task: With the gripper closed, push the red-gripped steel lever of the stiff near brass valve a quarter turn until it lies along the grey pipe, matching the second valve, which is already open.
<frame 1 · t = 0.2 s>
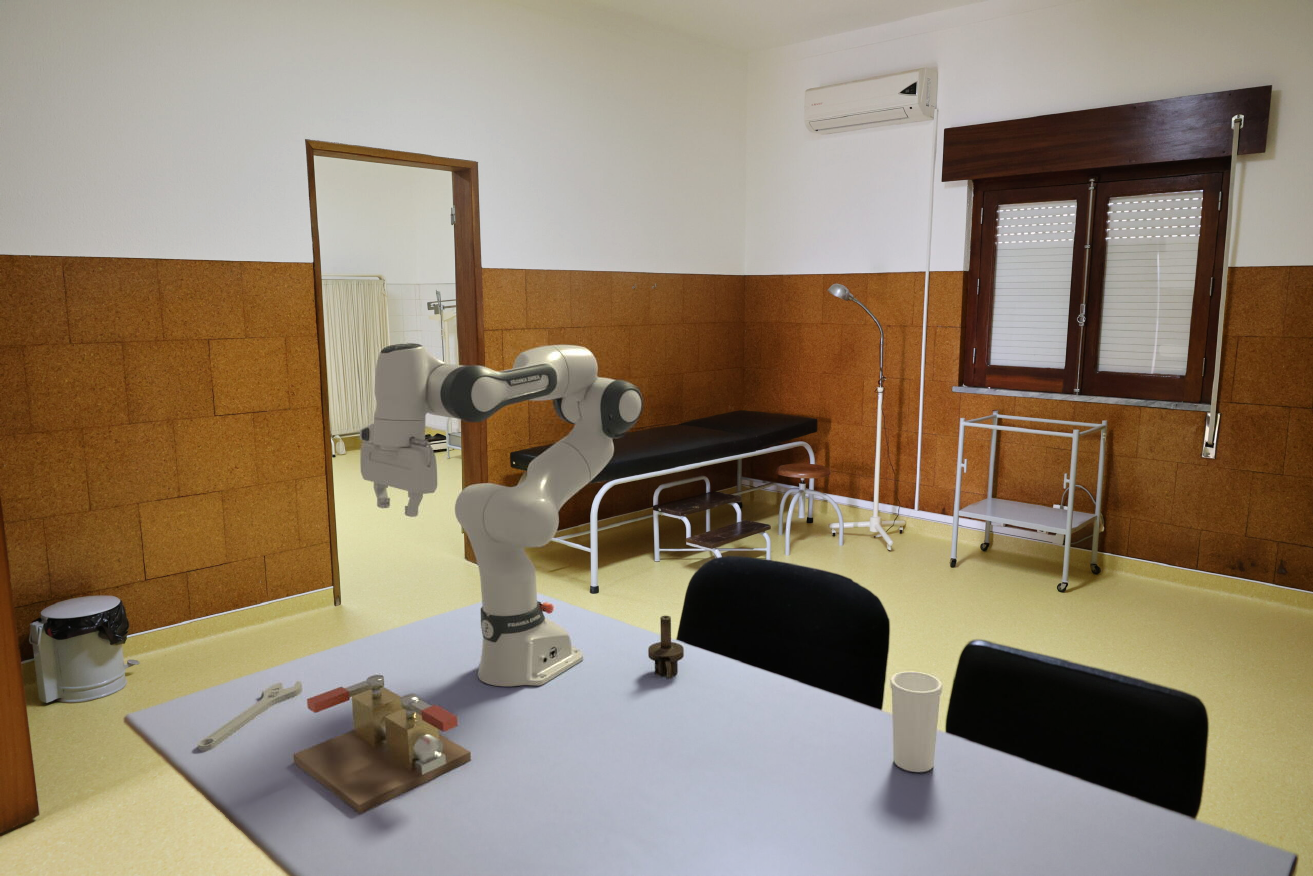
hand: (397, 511, 153), 39 cm above the table, tool pointing down, fingers open, 8 cm apart
base board: (382, 761, 143), on the table
valve lever: (348, 692, 144), point 11 cm above the table, hinge at 0.0°
pipe manifold: (398, 754, 145), resting on base board
adjustable wrench: (249, 718, 160), on the table
cup: (913, 765, 140), on the table
industrial component: (667, 672, 176), on the table
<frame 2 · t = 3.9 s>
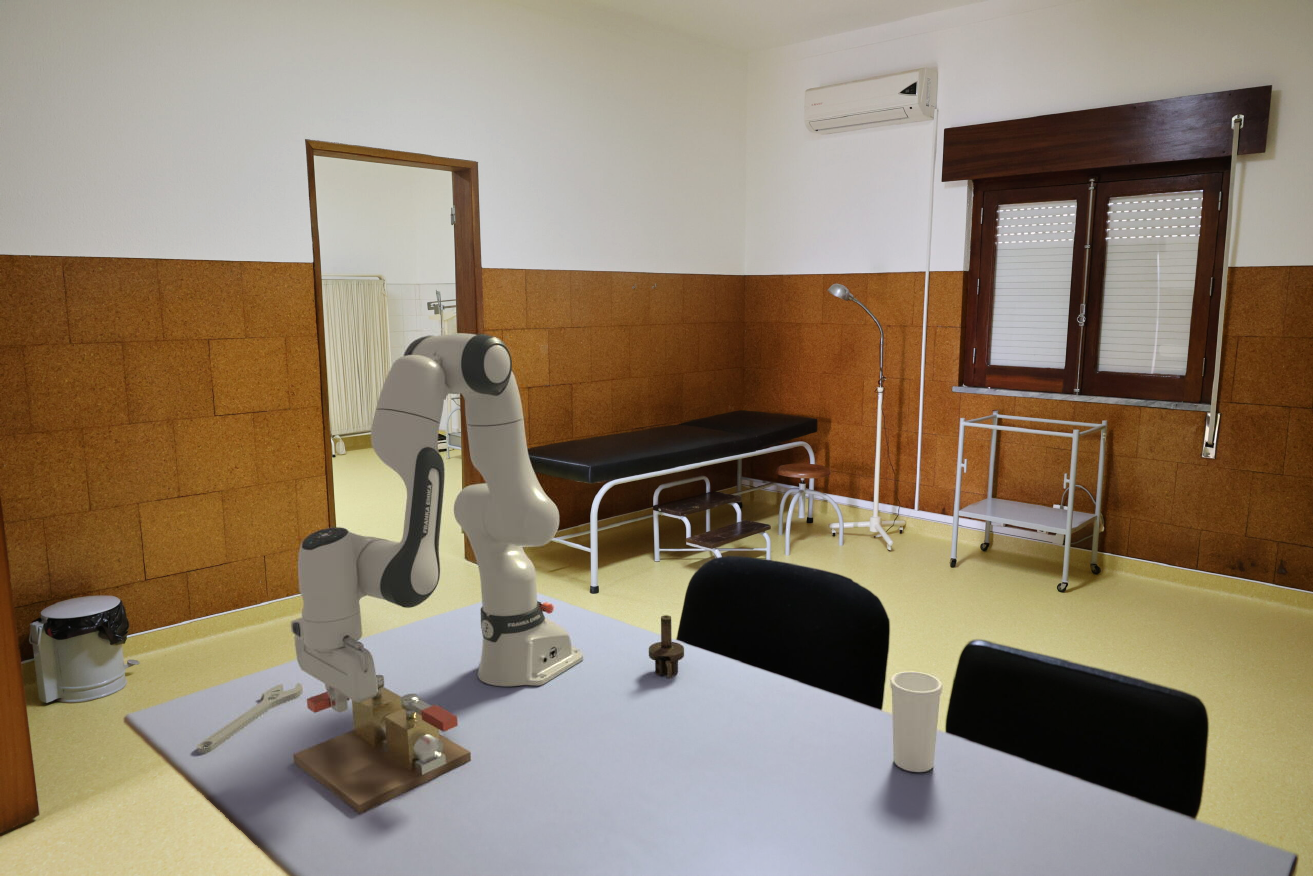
hand: (339, 709, 140), 10 cm above the table, tool pointing down, fingers closed
valve lever: (348, 692, 144), point 11 cm above the table, hinge at -0.5°, touching gripper
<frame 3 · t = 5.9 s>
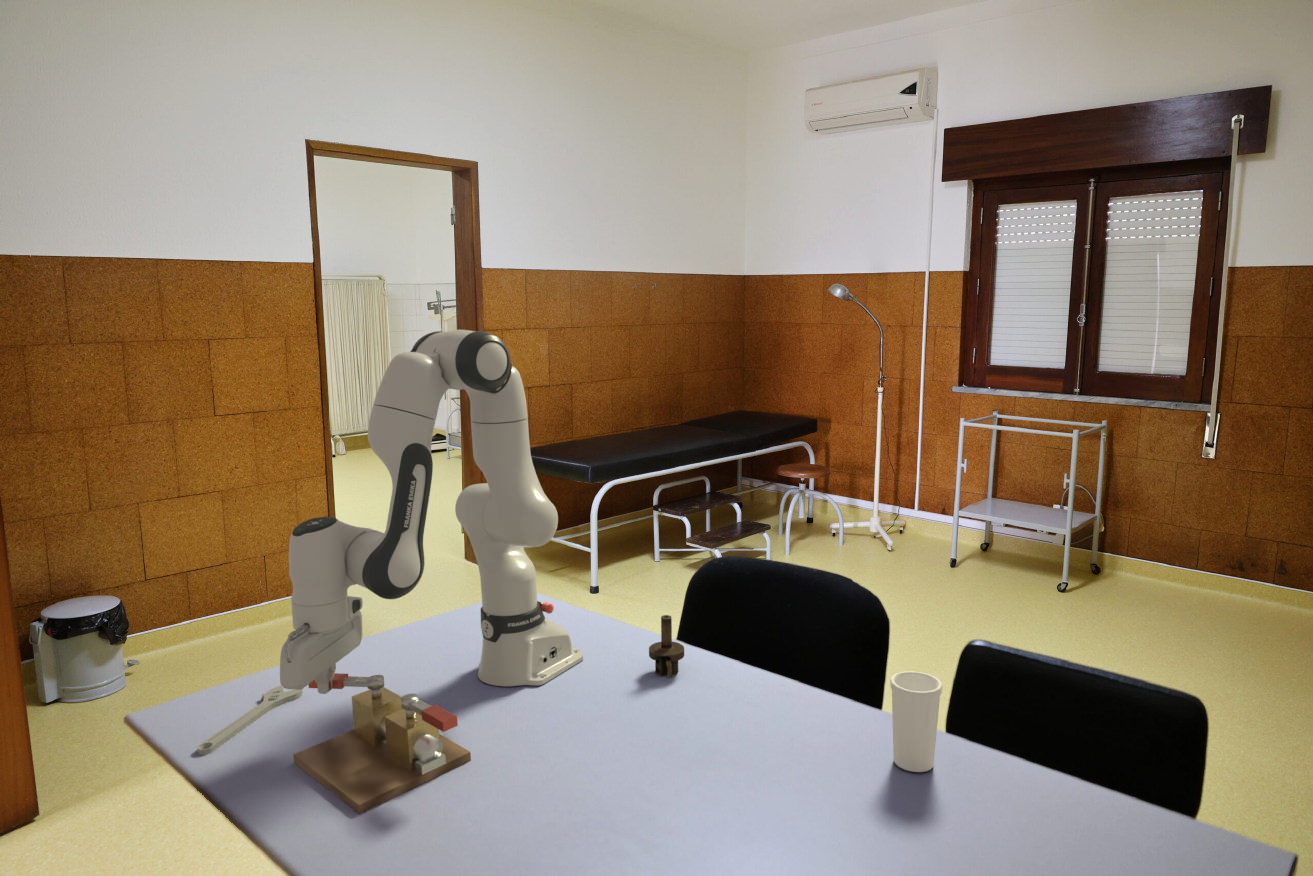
hand: (325, 691, 146), 10 cm above the table, tool pointing down, fingers closed
valve lever: (347, 681, 148), point 11 cm above the table, hinge at -53.1°, touching gripper
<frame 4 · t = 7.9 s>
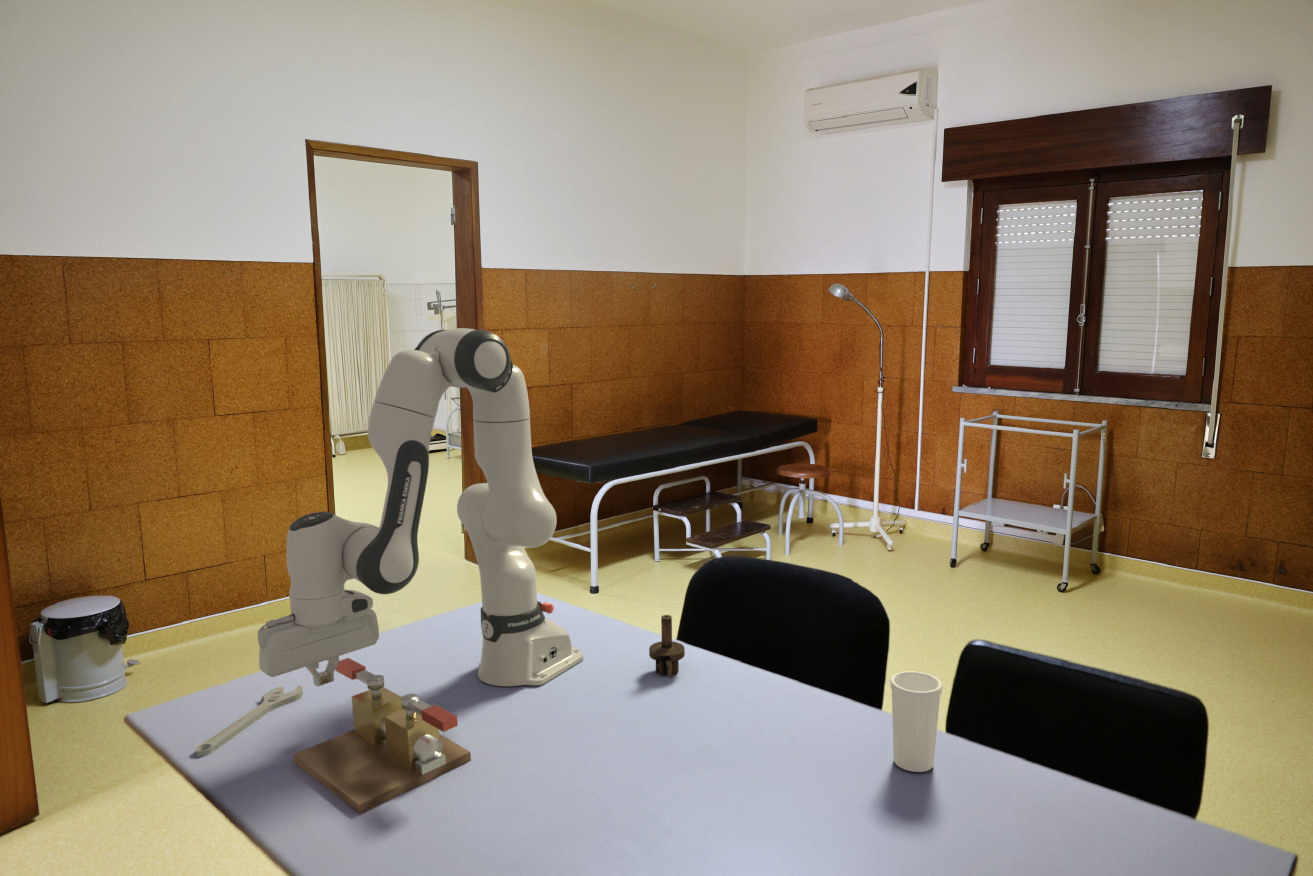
hand: (323, 683, 149), 11 cm above the table, tool pointing down, fingers closed
valve lever: (360, 674, 151), point 11 cm above the table, hinge at -89.0°
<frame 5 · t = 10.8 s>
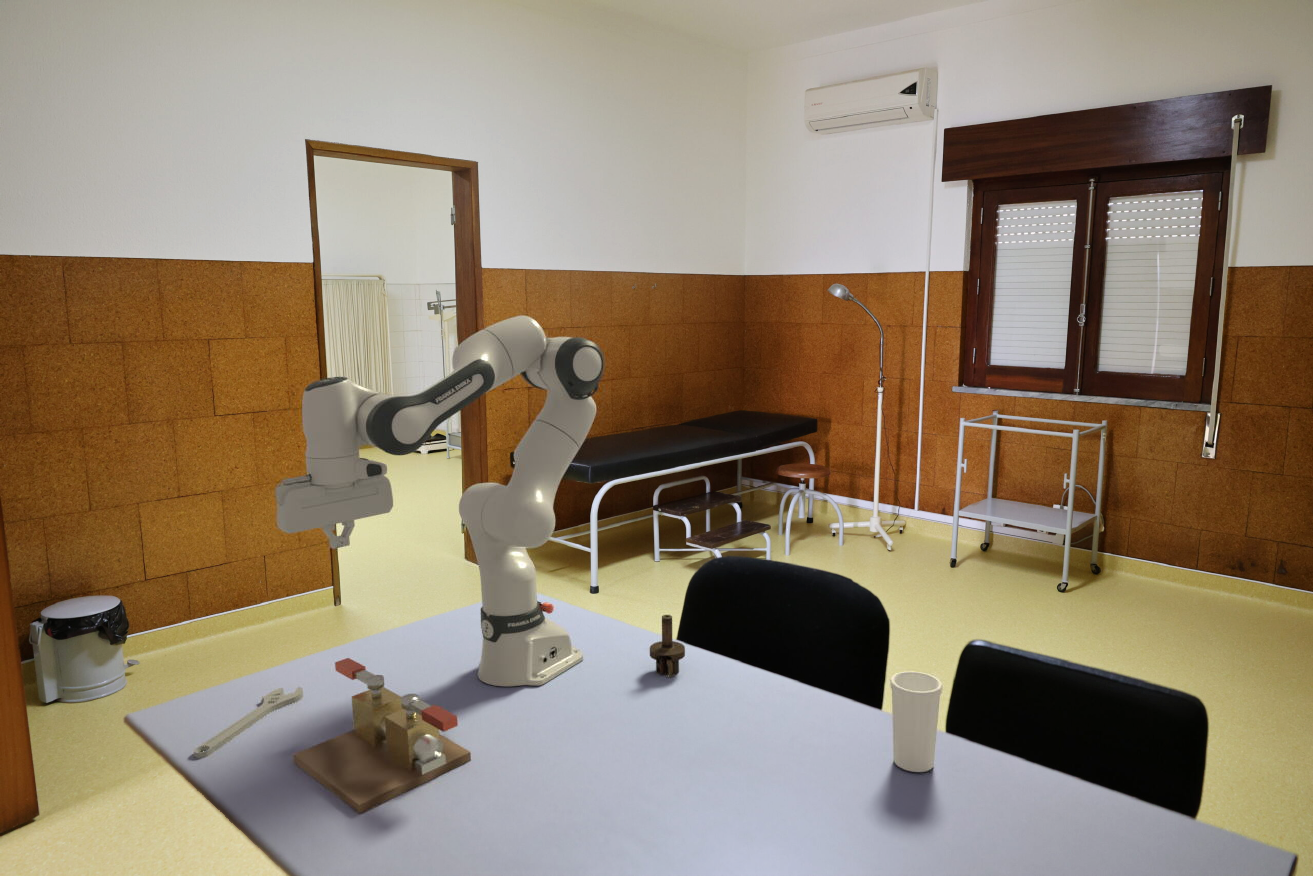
hand: (339, 546, 152), 33 cm above the table, tool pointing down, fingers closed
at the end: valve lever at -89° (first picture: +0°); adjustable wrench moved 2.8 cm from its start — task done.
